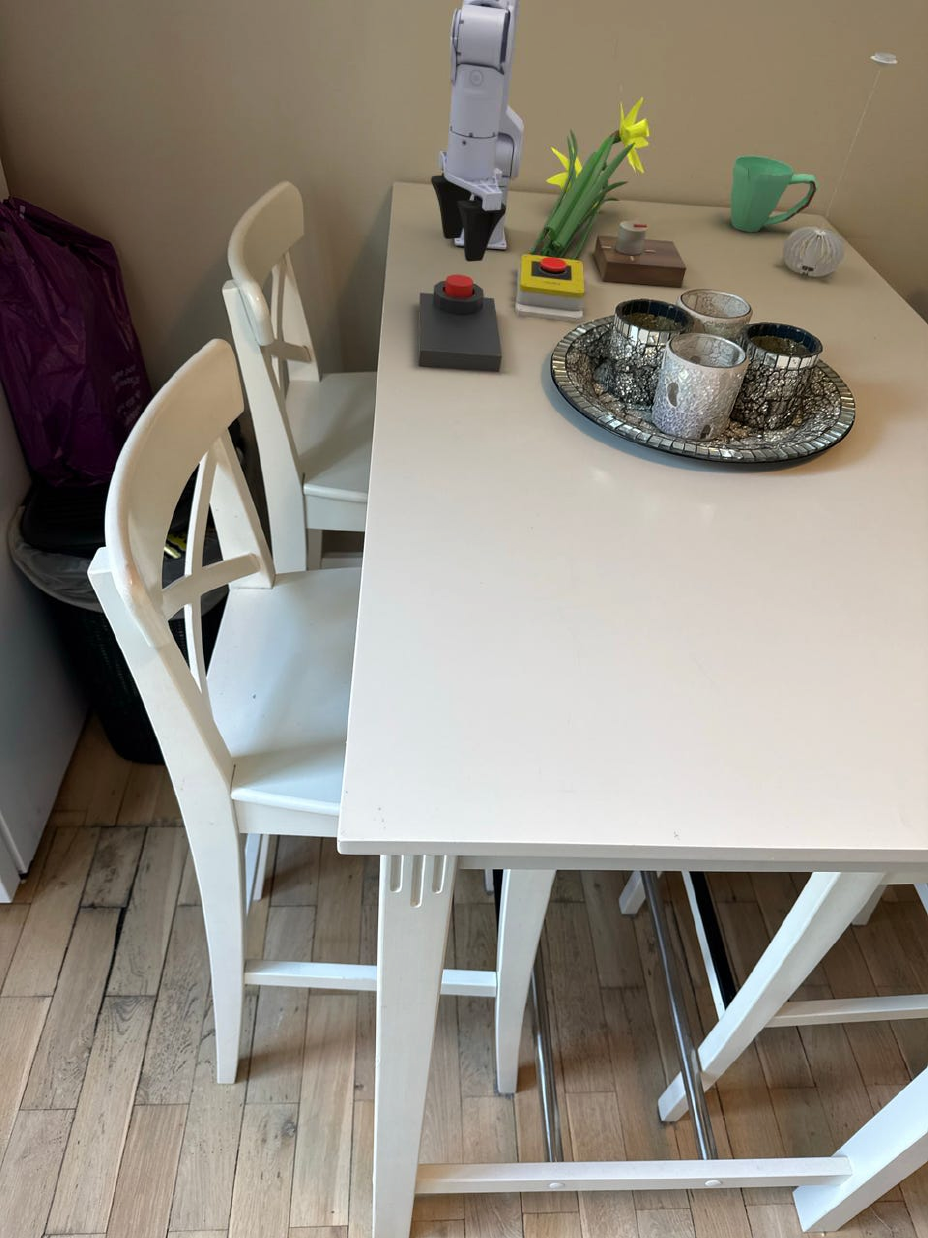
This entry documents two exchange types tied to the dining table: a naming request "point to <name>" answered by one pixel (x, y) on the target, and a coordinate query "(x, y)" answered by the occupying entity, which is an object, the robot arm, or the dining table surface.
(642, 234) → the dimmer knob
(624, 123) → the daffodil flowers
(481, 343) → the switch box
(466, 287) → the light button
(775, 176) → the mug
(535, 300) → the emergency button
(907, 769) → the dining table surface
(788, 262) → the pendant light
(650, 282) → the dimmer panel
